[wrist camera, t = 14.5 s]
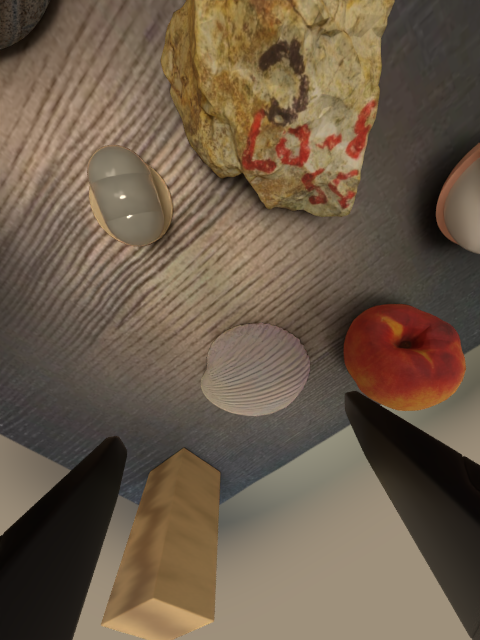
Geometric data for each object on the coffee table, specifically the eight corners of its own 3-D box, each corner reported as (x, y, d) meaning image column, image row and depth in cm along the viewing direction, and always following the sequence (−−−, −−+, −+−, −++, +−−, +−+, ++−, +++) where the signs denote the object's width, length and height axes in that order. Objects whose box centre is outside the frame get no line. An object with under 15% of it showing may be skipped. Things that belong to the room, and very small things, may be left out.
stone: (168, 239, 18) (176, 239, 15) (118, 251, 17) (115, 253, 14) (140, 153, 16) (142, 130, 12) (81, 160, 14) (67, 137, 11)
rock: (291, 172, 20) (370, 219, 14) (196, 201, 19) (232, 266, 13) (295, -96, 11) (520, -311, 5) (120, -66, 11) (117, -282, 4)
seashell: (176, 348, 18) (313, 341, 15) (200, 320, 23) (307, 311, 20) (205, 444, 22) (318, 449, 19) (220, 401, 27) (312, 402, 24)
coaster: (112, 252, 18) (109, 253, 17) (77, 168, 16) (73, 167, 15) (182, 236, 18) (182, 236, 17) (157, 148, 15) (155, 146, 15)
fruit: (425, 290, 20) (538, 332, 13) (400, 369, 23) (478, 439, 16) (335, 292, 20) (397, 334, 12) (322, 371, 23) (365, 442, 16)
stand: (186, 494, 30) (162, 644, 19) (149, 472, 28) (99, 626, 17) (220, 472, 28) (214, 621, 18) (183, 447, 26) (152, 598, 16)
